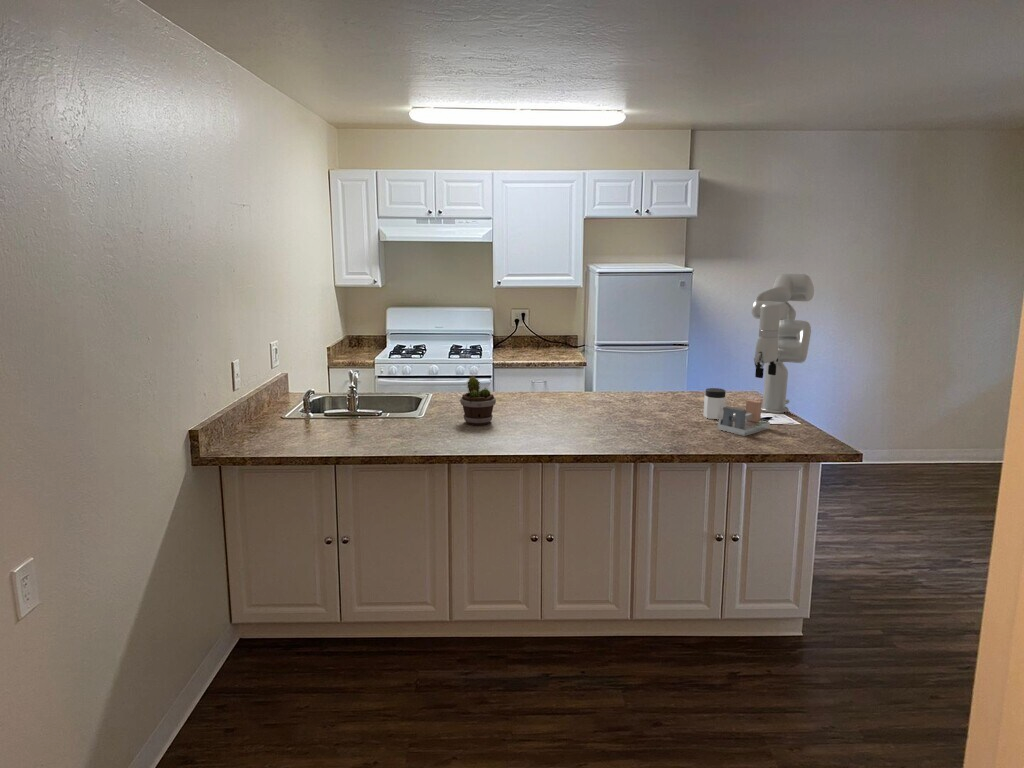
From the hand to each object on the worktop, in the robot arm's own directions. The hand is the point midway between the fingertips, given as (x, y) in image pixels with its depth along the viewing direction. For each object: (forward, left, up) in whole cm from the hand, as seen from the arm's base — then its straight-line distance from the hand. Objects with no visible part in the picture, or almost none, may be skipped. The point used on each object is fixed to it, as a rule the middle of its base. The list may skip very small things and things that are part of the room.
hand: (765, 376), depth 295 cm
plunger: (+12, +2, -17) cm, 21 cm away
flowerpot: (+90, -75, -20) cm, 119 cm away
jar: (+6, -19, -20) cm, 28 cm away
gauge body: (+13, 0, -20) cm, 24 cm away
